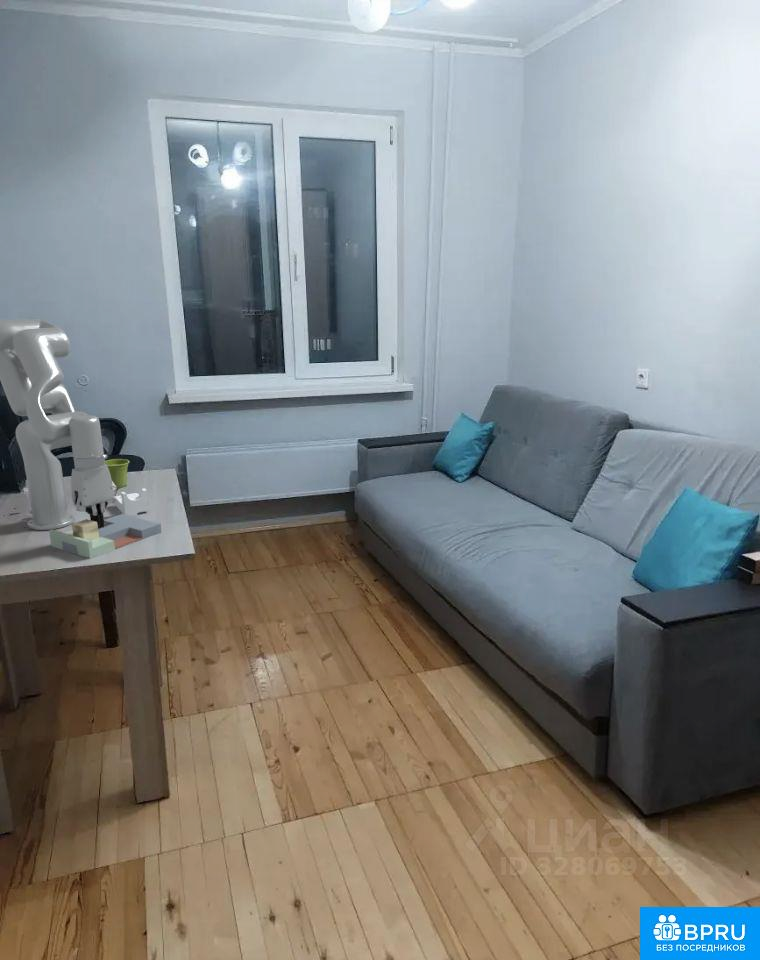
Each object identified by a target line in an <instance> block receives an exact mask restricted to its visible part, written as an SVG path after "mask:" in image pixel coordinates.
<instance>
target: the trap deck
mask: <svg viewBox="0 0 760 960" xmlns="http://www.w3.org/2000/svg"><path fill="white" fill-rule="evenodd" d="M48 532H49V533H48V534H49V539H50V540H49V541H50V545H51V547H53V548H56V549H60V550H63V551H65V552H69V553H71V554H75V555H78V556H81V557H84V558H86V559H94V558H96V557H98V556H101V555H104V554H106V553H109V552H112V551H114V550H117V548H118V549H120V548H123V547H125V545H126V546H128V545H130V543H131V544H133V542H134V543H136V542H138V540H139V541H142V540H145V539H147V538H150V537H152V536H155V535H157V534H159V533H162V526H161V523H159V522H154V521H151V520H146V519H144V518H139V517H136V516H135V517H134V516H128V515H124V514H122V513H121V514H118V515H114V516H112V517H108V518H104V527H103V528H100V529H98V532H99V538H97V539H94V540H92V541H90V540H86V539H83V538H80V537H76V536H73V530H69V531H65V532H63V531H59V530H56V529H50V530H48Z"/></svg>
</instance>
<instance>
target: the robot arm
mask: <svg viewBox="0 0 760 960" xmlns="http://www.w3.org/2000/svg"><path fill="white" fill-rule="evenodd" d="M70 341H71V340H70V337H69V336H68V335H67V333H66V332H65V331H64V330H63V329H62V328H60V327H59V326H58V325H55V324H54V323H52V322H49V321H47V320H45V319H42V318H33V317H32V318H15V319H14V318H9V319H7V318H6V319H0V384H1V387H2V389H3V391H4V394H5V397H6V399H7V401H8V404H9V406H10V408H11V410H12V412H13V413H14V414H15V415H17V416H18V417H27V418H28V419H26V420H23V421H22V422H20V423H19V424H18V425H17V427H16V428H15V437H16V438H15V439H16V442H17V444H18V447H19V449H20V452H21V457H22V460H23V464H24V470H25V471H24V473H25V477H26V482H27V483H26V484H27V489H28V490H27V491H28V496H29V502H30V509H28V513H29V514H31V517H32V518H31V519H29V521H28V522H27V527H28V528H29V529H31V530H36V531H49V530H52V529H53V530H56V529H60V528H63V527H67V526H69V525H72V524H73V523H75V519H76V518H75V516H74V515H73V514H71V513H69V510H68V504H67V497H66V488H65V482H64V476H63V475H64V474H63V469H62V464H61V461H60V460H59V459H58V458H57V457H56V456H55V455H54V454H53V453H52V452H51V451H52V450H55V449H61V448H65V447H70V446H71V450H72V455H73V456H72V457H73V463H74V468H72V470H71V476H70V477H71V479H70V486H71V501H72V503H73V505H75V506H76V508H75V510H76V511H77V512H82V513H83V512H85V513H87V514H88V515H89V520H91V521H95V522H97V525H98V529H100V528H103V527H104V520H105V517H104V513H105V512H106V508H107V506H108V505H110V504H111V503H113V502H114V500H113V496H114V491H113V484H112V479H111V475H110V472H109V469H108V466H107V465H106V464H105V461H106V460H107V459H108V455H107V453H104V446H103V438H102V430H101V429H102V428H101V423H100V419H99V417H98V416H96V415H92V414H91V415H90V414H88V413H86V412H84V411H77V410H75V407H74V404H73V402H72V399H71V397H70V395H69V392H68V390H67V388H66V387H65V385H64V384H63V381H64V379H65V376H64V372H63V371H62V369H61V367H60V364H59V363H58V360H57V359H59V358H65V357H67V356H68V355H70V352H71V342H70ZM13 351H14V352H15V353H14V352H13ZM49 413H50V415H49ZM46 414H48V415H46Z"/></svg>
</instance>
